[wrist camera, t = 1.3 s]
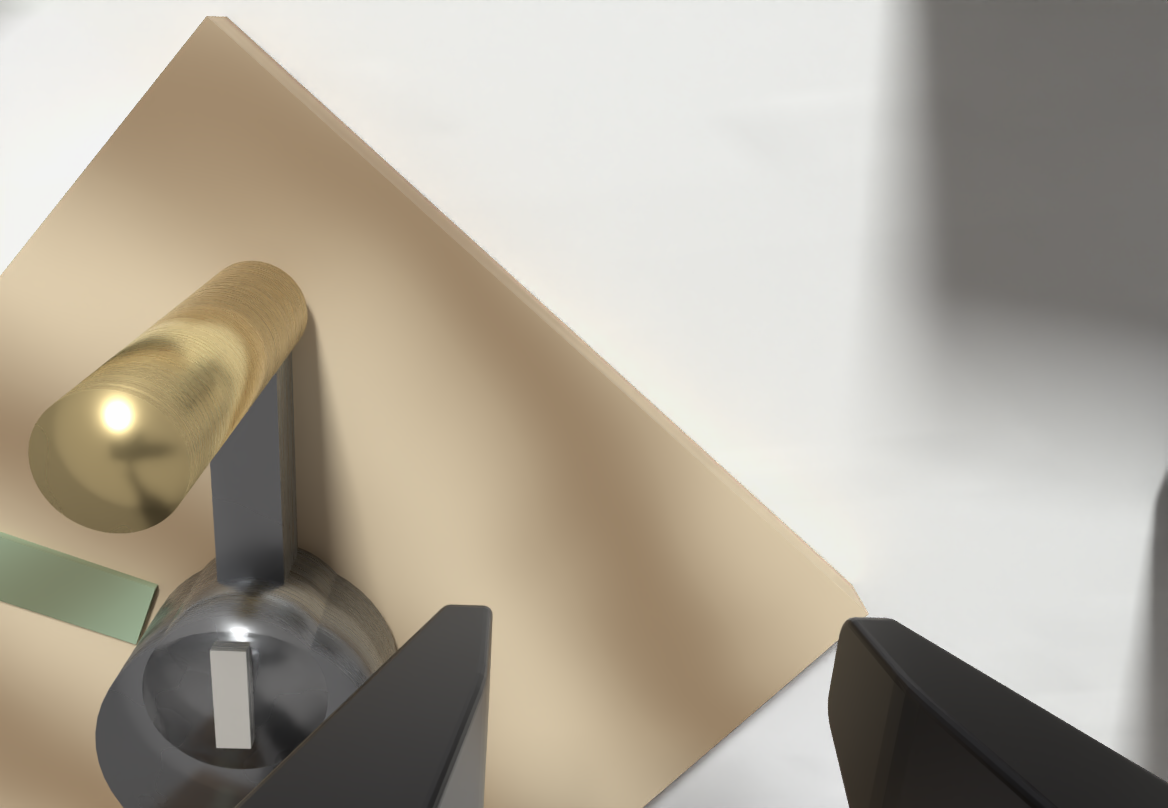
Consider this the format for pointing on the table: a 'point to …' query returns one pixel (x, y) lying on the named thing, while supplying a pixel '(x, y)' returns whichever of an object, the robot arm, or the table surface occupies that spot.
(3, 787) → the stand
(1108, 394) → the table surface
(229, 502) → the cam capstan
